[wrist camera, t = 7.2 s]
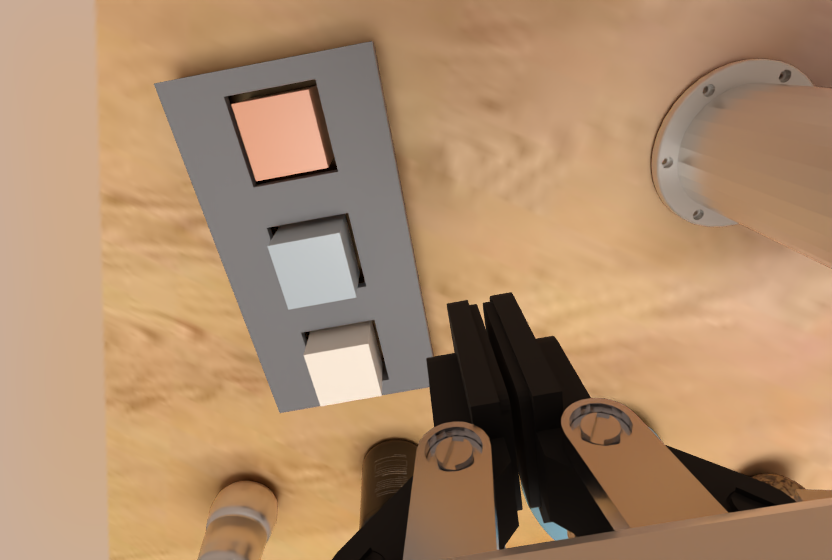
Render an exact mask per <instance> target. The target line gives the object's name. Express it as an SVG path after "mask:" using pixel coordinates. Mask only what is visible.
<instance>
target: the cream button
mask: <svg viewBox="0 0 832 560" xmlns="http://www.w3.org/2000/svg"><path fill="white" fill-rule="evenodd" d="M304 358H305V361H306V364H307V367H308V370H309V373H310V376H311V379H312V382H313V385H314V388H315V391H316V394H317V397H318V400H319V403H320V406H325V405H331V404H337V403H343V402H348V401H354V400H360V399H366V398H371V397H377V396H382V360H381V356H380V351H379V347H378V343H377V339H376V335H375V331H374V327H373V323H372V320H370V321H364V322H358V323H353V324H347V325H341V326H336V327H330V328H325V329H319V330H313V331H310V334H309V338H308V341H307V345H306V348H305V352H304Z"/></svg>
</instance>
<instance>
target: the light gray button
mask: <svg viewBox="0 0 832 560" xmlns="http://www.w3.org/2000/svg"><path fill="white" fill-rule="evenodd" d="M267 247H268V250H269V253H270V256H271V259H272V262H273V265H274V268H275V271H276V274H277V277H278V280H279V283H280V286H281V289H282V292H283V295H284V298H285V301H286V304H287V307H288V310H290V309H295V308H301V307H306V306H312V305H317V304H323V303H329V302H334V301H340V300H345V299H351V298H356V297H357V289H358V282H359V274H360V271H359V267H358V263H357V259H356V255H355V251H354V247H353V243H352V239H351V235H350V231H349V227H348V223H347V219H346V215H345V214H339V215H334V216H328V217H323V218H318V219H312V220H307V221H301V222H296V223H291V224H285V225H280V227H279V228H278V230H277V232H276V233H275V235H274V236H273V238H272V239H271V241H270V243H269V244H268V246H267Z"/></svg>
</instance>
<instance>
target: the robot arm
mask: <svg viewBox="0 0 832 560" xmlns="http://www.w3.org/2000/svg"><path fill="white" fill-rule="evenodd" d="M703 89H704V91H703ZM663 160H664V162H663V163H662V161H663ZM651 167H652V176H653V182H654V185H655V188H656V191H657V193H658V195H659V197H660V198H661V200H662V202H663V203H664V204H665V205H666V206H667V207H668V208H669V209H670V210H671V211H672V212H673V213H674V214H676V215H678V216H679V217H681V218H682V219H684V220H686V221H688V222H690V223H693V224H696V225H701V226H706V227H725V226H730V225H736V224H741V225H743V226H745V227H747V228H749V229H751V230H753V231H756V232H758V233H760V234H762V235H764V236H766V237H768V238H770V239H772V240H774V241H776V242H778V243H780V244H782V245H784V246H786V247H788V248H790V249H792V250H794V251H797V252H799V253H801V254H803V255H805V256H807V257H809V258H811V259H813V260H815V261H817V262H819V263H821V264H823V265H825V266H827V267H829V268H831V269H832V88H824V87H815V86H814V85H813V84H812V82H811V81H810V80H809V78H808V77H807V76H806V75H805V74H804V73H803V72H801V71H800V70H799V69H797V68H796V67H795V66H792V65H790V64H787V63H785V62H782V61H777V60H770V59H747V60H742V61H737V62H732V63H730V64H727V65H725V66H722V67H719V68H717V69H715V70H713V71H712V72H710V73H708V74H707V75H705V76H703V77H702V78H700V79H699V80H698V81H697V82H695V83H694V84H693V85H692V86H691V87H689V88H688V89H687V90H686V91H685V92H684V93H683V94H682V95H681V97H680V98H679V99H678V100H677V101H676V102H675V103H674V105H673V106H672V108H671V109H670V111H669V112H668V114H667V115H666V117H665V118H664V120H663V123H662V125H661V127H660V129H659V131H658V134H657V136H656V140H655V144H654V148H653V153H652V165H651ZM447 310H448V316H449V322H450V328H451V334H452V340H453V346H454V352H455V353H452V354H446V355H440V356H435V357H429V358H426V361H427V370H428V378H429V387H430V395H431V404H432V412H433V420H434V428H432V429H431V430H430V431H428V432H427V433H426V434H425V435H424V436H423V437H422V439H421V440H420V441H419V444H418V447H417V451H416V459H415V467H414V475H413V476H412V477H411V478H410V479H409V480H408V481H407V482H406V483H405V484H404V485H403V486H402V487H401V488H400V489H399V490H398V491H397V492H396V493H395V494H394V495H393V496H392V497H391V498H390V499H389V500H388V501H387V502H386V503H385V504H384V505H383V506H382V507H381V508H380V509H379V511H378V512H377V513H376V514H375V515H374V516H373V517H372V518H371V519H370V520H369V521H368V522H367V523H366V524H365V525H364V526H363V527H362V528H361V529H360V530H359V531H358V532H357V533H356V534H355V535H354V536H353V537H352V538H351V539H350V540H349V541H348V542H347V543H346V544H345V545H344V546H343V547H342V548H341V549H340V550H339V551H338V552H337V554H336V555H335V556H334V558H333V559H332V560H832V490H808V489H796V490H795V495H794V496H788V495H787V494H786V493H784V492H783V491H781V490H780V489H778V488H776V487H773V486H771V485H769V484H767V483H765V482H762V481H760V480H757V479H754V478H752V477H749V476H746V475H744V474H741V473H738V472H736V471H733V470H730V469H728V468H725V467H722V466H720V465H717V464H714V463H712V462H709V461H707V460H704V459H701V458H699V457H696V456H693V455H691V454H688V453H685V452H683V451H680V450H677V449H675V448H672V447H669V446H667V445H664V444H663V442H662V441H661V440H660V439H659V438H658V437H657V436H656V435H655V434H654V433H653V432H652V431H651V430H650V429H649V428H648V426H647V425H646V424H645V423H644V422H643V421H642V420H641V419H640V418H639V417H638V416H637V415H636V414H635V413H634V412H633V411H632V410H630V409H629V408H628V407H627V406H625V405H623V404H620V403H618V402H616V401H612V400H608V399H604V398H591V397H590V396H589V394H588V392H587V390H586V389H585V387H584V385H583V384H582V382H581V380H580V378H579V377H578V375H577V373H576V372H575V370H574V368H573V366H572V365H571V363H570V361H569V360H568V358H567V356H566V354H565V353H564V351H563V349H562V348H561V346H560V344H559V342H558V341H557V339H556V338H555V337H554V336H549V337H544V338H538V339H535V337H534V335H533V333H532V331H531V329H530V327H529V325H528V323H527V321H526V319H525V317H524V315H523V313H522V311H521V309H520V307H519V305H518V303H517V301H516V300H515V298H514V296H513V294H512V292H510V293H504V294H499V295H493V296H490V302H485V303H483V310H484V318H485V326H486V329H485V326H484V323H483V320H482V318H481V315H480V312H479V309H478V306H477V304H474V305H469V303H468V300H465V301H459V302H454V303H448V304H447ZM519 476H520V479H521V482H522V486H523V489H524V492H525V495H526V499H527V502H528V505H529V507H530V508H537V507H539V510H540V513H541V516H542V519H543V522H544V523H549V522H554V523H555V524H557V525H559V526H561V527H563V528H564V529H566V530H567V536H568V539H562V540H556V541H550V542H544V543H537V544H531V545H525V546H519V547H513V548H507V549H506V548H505V545H506V543H507V542H508V540H509V539H510V538H511V536H512V535H513V533H514V532H515V531H516V529H517V528H518V526H519V522H518V513H517V511H518V510H522V500H521V491H520V482H519Z"/></svg>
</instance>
